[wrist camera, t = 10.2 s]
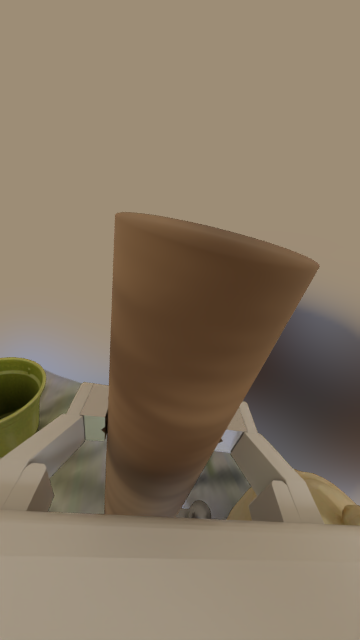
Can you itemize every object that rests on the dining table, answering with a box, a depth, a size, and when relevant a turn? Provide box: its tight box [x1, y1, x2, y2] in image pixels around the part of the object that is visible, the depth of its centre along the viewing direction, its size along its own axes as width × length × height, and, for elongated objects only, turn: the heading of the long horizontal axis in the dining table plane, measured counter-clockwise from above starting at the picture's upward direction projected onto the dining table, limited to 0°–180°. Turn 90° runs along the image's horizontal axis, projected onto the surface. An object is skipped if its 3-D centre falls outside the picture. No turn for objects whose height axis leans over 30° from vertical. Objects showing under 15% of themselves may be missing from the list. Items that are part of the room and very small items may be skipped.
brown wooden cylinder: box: [104, 212, 319, 518], centre depth 10 cm, size 5×5×18 cm
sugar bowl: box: [227, 469, 360, 526], centre depth 16 cm, size 15×11×15 cm
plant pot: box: [0, 357, 46, 457], centre depth 23 cm, size 9×9×9 cm
